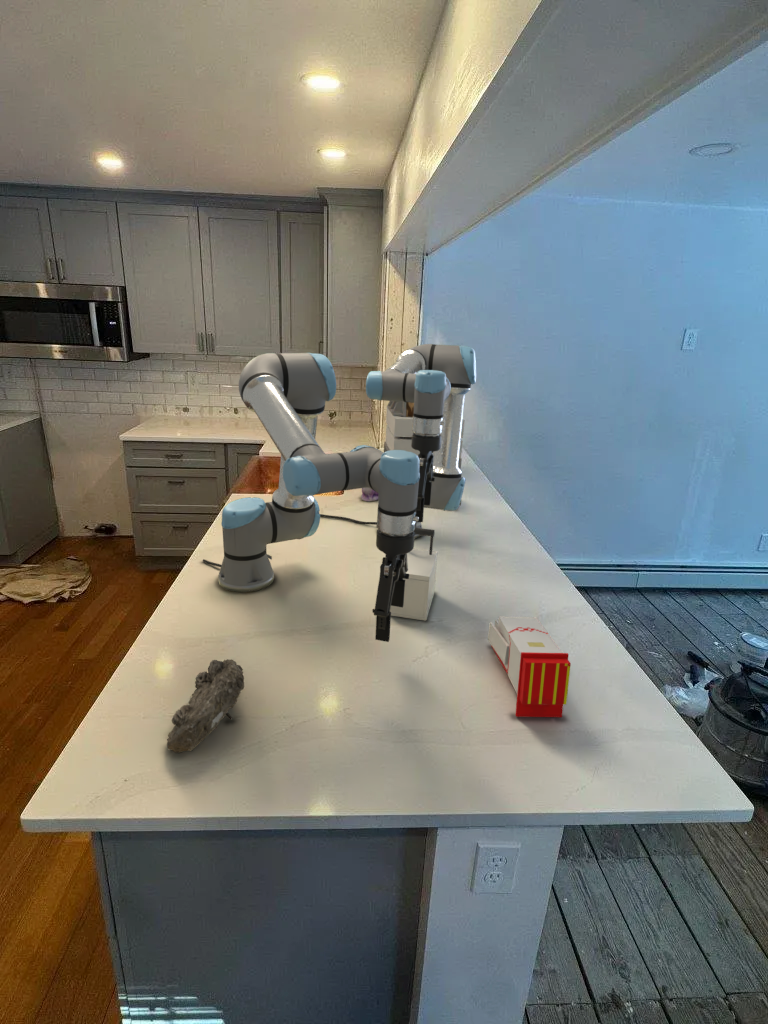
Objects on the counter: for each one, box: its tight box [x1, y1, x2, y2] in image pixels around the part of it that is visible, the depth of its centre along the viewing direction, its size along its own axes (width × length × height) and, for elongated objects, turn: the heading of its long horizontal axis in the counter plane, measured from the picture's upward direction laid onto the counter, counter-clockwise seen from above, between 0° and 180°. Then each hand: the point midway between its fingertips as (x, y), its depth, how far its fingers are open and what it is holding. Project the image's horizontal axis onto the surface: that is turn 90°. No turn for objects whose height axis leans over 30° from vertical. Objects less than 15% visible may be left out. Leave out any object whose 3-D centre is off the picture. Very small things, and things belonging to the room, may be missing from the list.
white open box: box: [390, 558, 438, 622], centre depth 151 cm, size 16×10×11 cm, turn 168°
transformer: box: [383, 401, 465, 471], centre depth 268 cm, size 34×33×41 cm
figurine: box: [360, 488, 379, 502], centre depth 233 cm, size 9×10×15 cm
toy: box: [487, 616, 572, 718], centre depth 123 cm, size 12×13×30 cm
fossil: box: [166, 658, 245, 754], centre depth 106 cm, size 22×10×15 cm
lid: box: [393, 527, 439, 581], centre depth 148 cm, size 16×10×8 cm, turn 168°
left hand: (390, 622), depth 119 cm, fingers open, 13 cm apart
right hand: (421, 512), depth 150 cm, fingers open, 13 cm apart
